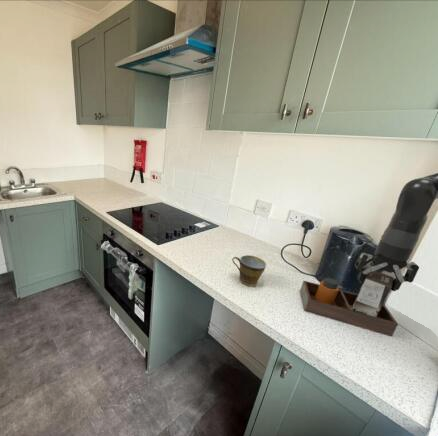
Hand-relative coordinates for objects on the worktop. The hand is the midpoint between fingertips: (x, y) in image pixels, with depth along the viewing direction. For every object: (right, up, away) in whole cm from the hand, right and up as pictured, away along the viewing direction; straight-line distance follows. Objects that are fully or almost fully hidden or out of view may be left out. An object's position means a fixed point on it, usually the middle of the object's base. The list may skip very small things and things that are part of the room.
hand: (376, 285), depth 81 cm
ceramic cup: (-35, -4, +23) cm, 42 cm away
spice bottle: (-12, -10, +9) cm, 18 cm away
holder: (-6, -12, +7) cm, 15 cm away
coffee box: (0, -12, +5) cm, 13 cm away
